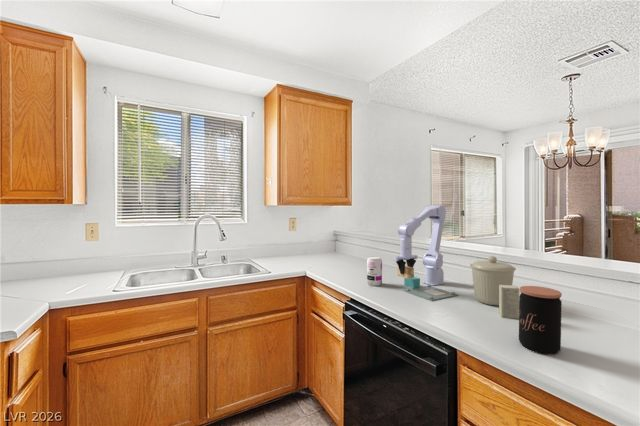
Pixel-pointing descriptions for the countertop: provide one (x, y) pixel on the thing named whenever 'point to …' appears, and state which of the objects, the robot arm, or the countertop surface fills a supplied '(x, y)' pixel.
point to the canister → (490, 279)
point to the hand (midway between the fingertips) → (405, 273)
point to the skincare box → (509, 301)
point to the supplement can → (374, 271)
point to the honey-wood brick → (407, 272)
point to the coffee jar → (540, 319)
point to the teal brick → (412, 282)
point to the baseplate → (431, 293)
